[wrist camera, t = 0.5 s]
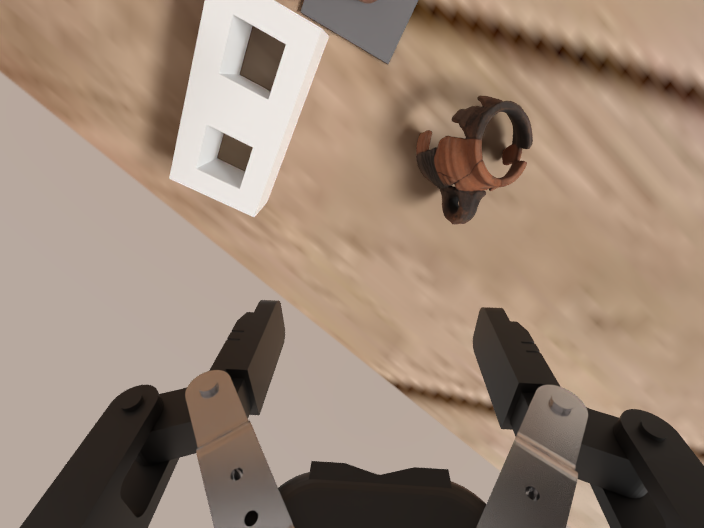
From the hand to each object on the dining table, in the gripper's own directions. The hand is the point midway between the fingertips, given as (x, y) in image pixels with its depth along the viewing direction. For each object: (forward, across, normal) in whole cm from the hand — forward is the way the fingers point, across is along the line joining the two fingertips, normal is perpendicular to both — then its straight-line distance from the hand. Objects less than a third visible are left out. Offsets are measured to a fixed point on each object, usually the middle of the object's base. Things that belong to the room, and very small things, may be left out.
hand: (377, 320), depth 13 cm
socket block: (+26, +13, -6) cm, 30 cm away
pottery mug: (+26, -9, -1) cm, 28 cm away
